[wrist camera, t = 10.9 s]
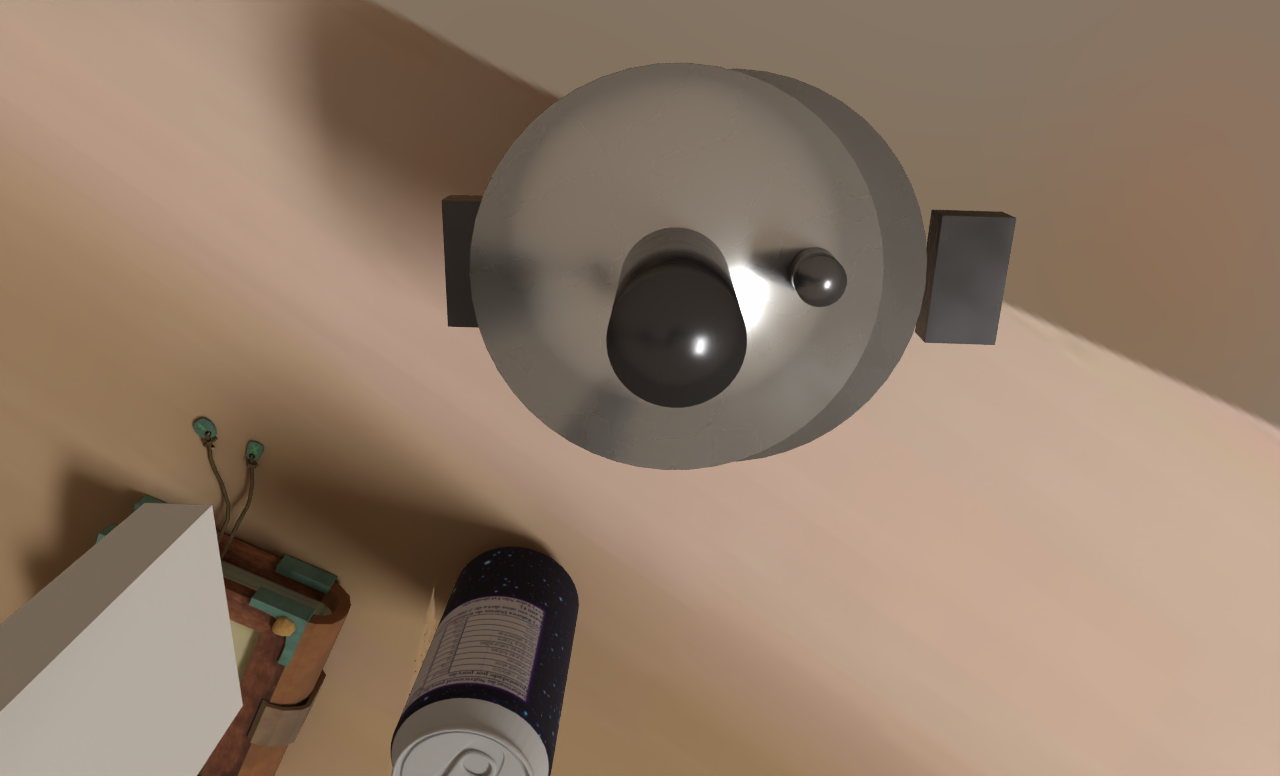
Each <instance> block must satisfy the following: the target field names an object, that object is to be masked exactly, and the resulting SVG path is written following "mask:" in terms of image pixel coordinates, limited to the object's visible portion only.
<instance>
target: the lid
mask: <svg viewBox="0 0 1280 776" xmlns="http://www.w3.org/2000/svg"><path fill="white" fill-rule="evenodd" d="M883 268H884V263H883V247H882V236H881V231H880V227H879V222H878V217H877V212H876V209H875V206H874V203H873V200H872V198H871V195H870V192H869V189H868V186H867V184H866V182H865V180H864V178H863V176H862V174H861V173H860V171H859V169H858V167H857V165H856V163H855V161H854V160H853V158H852V157H851V155H850V154H849V152H848V151H847V150H846V148H845V147H844V145H843V144H842V143H841V141H840V140H839V138H838V137H837V136H836V135H835V134H834V133H833V132H832V131H831V130H830V129H829V128H828V127H827V126H826V124H825V123H824V122H823V121H822V120H821V119H820V118H819V117H818V116H816V115H815V114H814V113H813V112H811V111H810V110H809V109H808V108H806V107H805V106H804V105H803V104H801V103H800V102H799V101H798V100H796V99H795V98H793V97H791V96H790V95H788V94H786V93H785V92H783V91H781V90H780V89H778V88H776V87H775V86H773V85H771V84H769V83H766V82H764V81H761V80H759V79H757V78H754V77H752V76H749V75H747V74H744V73H740V72H737V71H733V70H729V69H725V68H721V67H717V66H709V65H701V64H692V63H665V64H653V65H647V66H641V67H635V68H629V69H626V70H623V71H619V72H616V73H613V74H610V75H607V76H604V77H601V78H599V79H596V80H595V81H592V82H590V83H588V84H586V85H584V86H582V87H580V88H577V89H575V90H574V91H572V92H571V93H569V94H568V95H566V96H565V97H563V98H561V99H560V100H558V101H557V102H555V103H554V104H552V105H551V106H550V107H549V108H547V109H546V110H545V111H544V112H543V113H542V114H540V115H539V116H538V117H537V118H536V119H535V120H534V121H532V122H531V123H530V124H529V125H528V126H527V128H526V129H525V130H524V131H523V132H522V133H521V134H520V136H519V137H518V138H517V139H516V140H515V141H514V142H513V144H512V145H511V146H510V148H509V149H508V151H507V152H506V154H505V155H504V157H503V158H502V160H501V161H500V163H499V164H498V166H497V167H496V169H495V171H494V173H493V175H492V177H491V179H490V182H489V184H488V186H487V188H486V190H485V192H484V194H483V198H482V201H481V204H480V207H479V210H478V213H477V216H476V219H475V225H474V231H473V236H472V242H471V253H470V282H471V293H472V301H473V305H474V310H475V314H476V319H477V323H478V326H479V329H480V332H481V335H482V337H483V340H484V343H485V345H486V348H487V350H488V352H489V354H490V356H491V358H492V360H493V362H494V364H495V366H496V368H497V369H498V371H499V373H500V374H501V376H502V377H503V379H504V380H505V381H506V383H507V384H508V386H509V387H510V389H511V390H512V392H513V393H514V394H515V395H516V396H517V397H518V398H519V399H520V401H521V402H522V403H523V404H524V405H525V406H526V407H527V408H528V409H529V411H531V412H532V413H533V414H534V415H535V416H536V417H537V418H539V419H540V420H541V421H542V422H543V423H544V424H545V425H547V426H548V427H549V428H550V429H552V430H553V431H555V432H556V433H558V434H559V435H561V436H562V437H564V438H565V439H567V440H568V441H570V442H572V443H574V444H576V445H578V446H580V447H582V448H584V449H586V450H588V451H589V452H591V453H594V454H597V455H600V456H602V457H605V458H608V459H610V460H613V461H616V462H621V463H625V464H629V465H633V466H638V467H644V468H653V469H662V470H690V469H698V468H705V467H713V466H718V465H722V464H726V463H730V462H734V461H738V460H741V459H743V458H746V457H748V456H751V455H754V454H756V453H759V452H762V451H764V450H766V449H767V448H769V447H771V446H773V445H775V444H777V443H779V442H781V441H783V440H784V439H786V438H787V437H789V436H790V435H792V434H793V433H795V432H796V431H797V430H799V429H800V428H802V427H803V426H805V425H806V424H807V423H808V422H809V421H810V420H812V419H813V418H814V417H815V416H816V415H817V414H818V413H819V412H821V411H822V410H823V409H824V408H825V407H826V406H827V405H828V403H829V402H830V401H831V400H832V399H833V398H834V397H835V395H836V394H837V393H838V392H839V391H840V390H841V388H842V387H843V386H844V384H845V383H846V381H847V380H848V378H849V377H850V375H851V374H852V372H853V371H854V369H855V368H856V366H857V364H858V362H859V360H860V358H861V356H862V354H863V352H864V350H865V348H866V346H867V344H868V341H869V338H870V336H871V333H872V330H873V327H874V324H875V321H876V318H877V313H878V309H879V304H880V299H881V294H882V283H883Z"/></svg>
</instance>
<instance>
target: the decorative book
mask: <svg viewBox="0 0 1280 776" xmlns="http://www.w3.org/2000/svg"><path fill="white" fill-rule="evenodd" d="M194 430H195V432H196V433H197V434H198V435H199V436H200V437H202V438H203V439H207V441H208V442H206V443H203V446H204V447H207V448H208V453H209V461H210V464H211V466H212V469H213V471H214V474H215V476H216V478H217V479H218V481H219V483H220V486H221V489H222V492H223V495H224V498H225V501H226V504H227V511H226V520H225V522H224V525H223V527H222V529H221V532H218V531H216V533H217V540H218V546H219V553H220V560H221V566H222V573H223V579H224V586H225V592H226V599H227V605H228V612H229V618H230V625H231V631H232V638H233V644H234V651H235V658H236V664H237V671H238V677H239V684H240V690H241V697H242V703H243V706H242V708H241V709H240V711H239V712H238V714H237V715H236V717H235V718H234V720H233V721H232V723H231V724H230V726H229V727H228V729H227V730H226V732H225V734H224V735H223V737H222V738H221V740H220V741H219V743H218V744H217V746H216V747H215V749H214V750H213V752H212V753H211V755H210V756H209V758H208V760H207V761H206V763H205V764H204V766H203V767H202V769H201V770H200V772H199V773H198V775H197V776H274V775H275V773H276V771H277V769H278V766H279V764H280V762H281V760H282V758H283V755H284V753H285V751H286V749H287V746H288V744H290V743H292V742H294V740H295V739H296V737H297V735H298V733H299V731H300V729H301V727H302V725H303V723H304V721H305V719H306V717H307V715H308V713H309V711H310V709H311V707H312V705H313V703H314V701H315V698H316V696H317V694H318V692H319V690H320V687H321V685H322V683H323V681H324V679H325V676H326V674H325V673H324V671H323V667H324V665H325V663H326V660H327V658H328V656H329V654H330V652H331V649H332V647H333V645H334V643H335V641H336V638H337V636H338V634H339V632H340V630H341V627H342V625H343V623H344V621H345V619H346V616H347V614H348V612H349V609H350V606H351V604H350V596H349V595H348V594H347V593H346V591H345V590H344V589H343V588H342V587H341V586H340V585H338V584H337V583H335V580H336V578H337V576H335V575H332V574H330V573H328V572H325V571H323V570H321V569H318V568H316V567H314V566H311V565H309V564H307V563H304V562H302V561H300V560H297V559H295V558H293V557H290V556H288V555H285V556H284V557H283V559H281V558H279V557H277V556H274V555H272V554H270V553H267V552H265V551H263V550H260V549H258V548H256V547H253V546H251V545H249V544H246V543H244V542H242V541H239V540H237V539H235V538H233V537H234V535H235V533H236V531H237V529H238V527H239V525H240V523H241V521H242V519H243V517H244V515H245V514H246V512H247V510H248V508H249V506H250V503H251V500H252V494H253V487H254V468H256V467H257V466H258V465H257V463H254V461H255V460H257V459H258V458H259V457H260V456H261V454H262V453H263V450H264V446H263V445H262V444H261V443H259V442H257V441H251V442H250V443H249V445H248V447H247V462H246V465H247V466H248V467H250V481H251V482H250V489H249V496H248V500H247V504H246V506H245V508H244V510H243V512H242V513H241V515H240V517H239V519H238V521H237V522H236V524H235V526H234V528H233V530H232V532H231V535H230V536H228V535H225V534H223V533H224V531H225V529H226V526H227V524H228V522H229V519H230V502H229V499H228V495H227V492H226V489H225V486H224V483H223V481H222V479H221V477H220V475H219V473H218V471H217V469H216V466H215V464H214V461H213V457H212V450H215V447H214V446H213V445H211V444H212V443H213V442H215V441H216V440H217V439H218V438H217V437H215V436H216V434H217V430H216V427H215V425H214V423H213V422H212V421H211V420H210V419H208V418H201V419H199V420H198V421H196V422H195V424H194ZM208 430H209V431H210V432H208V433H207V431H208ZM211 433H212V434H211ZM210 434H211V435H210ZM213 437H214V438H213ZM212 438H213V439H212ZM211 439H212V440H211ZM250 453H252V454H251V455H250ZM254 456H255V458H254ZM144 503H163V504H167V503H165V502H163V501H160V500H158V499H156V498H153V497H151V496H149V495H145V496H144V497H143V498H142V499H141V500H139V501H138V502H137V503H136V504H135V506H134V509H133V512H134V511H136V510H137V509H138V508H139V507H140V506H142V505H143V504H144ZM133 512H132V513H133ZM117 526H118V525H115V524H113V523H111V524H110V525H109V526H107V527H106V528H105V529H104V530H103V531H101V532H100V533H99V535H98V538H97V541H96V543H98V542H99V541H100V540H101V539H102V538H104V537H105V536H106V535H107V534H108V533H110V532H111V531H112V530H113V529H114V528H115V527H117ZM60 574H61V573H60Z"/></svg>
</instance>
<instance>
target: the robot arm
mask: <svg viewBox="0 0 1280 776" xmlns="http://www.w3.org/2000/svg"><path fill="white" fill-rule="evenodd" d="M242 706H243V703H242V697H241V690H240V684H239V677H238V671H237V664H236V658H235V651H234V644H233V638H232V631H231V625H230V618H229V612H228V605H227V599H226V592H225V586H224V579H223V573H222V566H221V560H220V553H219V546H218V540H217V533H216V527H215V520H214V514H213V507H212V505H194V504H163V503H144V504H143V505H142V506H140V507H139V508H138V509H137V510H136V511H134V512H133V513H132V514H131V515H130V516H129V517H127V518H126V519H125V520H124V521H123V522H121V523H120V524H119V525H118V526H117V527H115V528H114V529H113V530H112V531H111V532H110V533H108V534H107V535H106V536H105V537H104V538H102V539H101V540H100V541H99V542H98V543H96V544H95V545H94V546H93V547H92V548H91V549H89V550H88V551H87V552H86V553H85V554H83V555H82V556H81V557H80V558H79V559H77V560H76V561H75V562H74V563H73V564H72V565H70V566H69V567H68V568H67V569H66V570H64V571H63V572H62V573H61V574H60V575H59V576H57V577H56V578H55V579H54V580H53V581H51V582H50V583H49V584H48V585H47V586H45V587H44V588H43V589H42V590H41V591H40V592H38V593H37V594H36V595H35V596H34V597H32V598H31V599H30V600H29V601H28V602H26V603H25V604H24V605H23V606H22V607H21V608H19V609H18V610H17V611H16V612H15V613H13V614H12V615H11V616H10V617H9V618H8V619H6V620H5V621H4V622H3V623H2V624H0V776H197V775H198V773H199V772H200V770H201V769H202V767H203V766H204V764H205V763H206V761H207V760H208V758H209V756H210V755H211V753H212V752H213V750H214V749H215V747H216V746H217V744H218V743H219V741H220V740H221V738H222V737H223V735H224V734H225V732H226V730H227V729H228V727H229V726H230V724H231V723H232V721H233V720H234V718H235V717H236V715H237V714H238V712H239V711H240V709H241V708H242Z"/></svg>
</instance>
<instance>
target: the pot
mask: <svg viewBox="0 0 1280 776" xmlns="http://www.w3.org/2000/svg"><path fill="white" fill-rule="evenodd" d="M729 70H733V71H737V72H740V73H744V74H747V75H749V76H752V77H754V78H757V79H759V80H761V81H764V82H766V83H769V84H771V85H773V86H775V87H776V88H778V89H780V90H781V91H783V92H785V93H786V94H788V95H790V96H791V97H793V98H795V99H796V100H798V101H799V102H800V103H801V104H803V105H804V106H805V107H806V108H808V109H809V110H810V111H811V112H813V113H814V114H815V115H816V116H818V117H819V118H820V119H821V120H822V121H823V122H824V123H825V124H826V126H827V127H828V128H829V129H830V130H831V131H832V132H833V133H834V134H835V135H836V136H837V137H838V138H839V140H840V141H841V143H842V144H843V145H844V147H845V148H846V150H847V151H848V152H849V154H850V155H851V157H852V158H853V160H854V161H855V163H856V165H857V167H858V169H859V171H860V173H861V174H862V176H863V178H864V180H865V182H866V184H867V186H868V189H869V192H870V195H871V198H872V200H873V203H874V206H875V209H876V212H877V217H878V222H879V227H880V231H881V236H882V247H883V263H884V268H883V283H882V294H881V299H880V304H879V309H878V313H877V318H876V321H875V324H874V327H873V330H872V333H871V336H870V338H869V341H868V344H867V346H866V348H865V350H864V352H863V354H862V356H861V358H860V360H859V362H858V364H857V366H856V368H855V369H854V371H853V372H852V374H851V375H850V377H849V378H848V380H847V381H846V383H845V384H844V386H843V387H842V388H841V390H840V391H839V392H838V393H837V394H836V395H835V397H834V398H833V399H832V400H831V401H830V402H829V403H828V405H827V406H826V407H825V408H824V409H823V410H822V411H821V412H819V413H818V414H817V415H816V416H815V417H814V418H813V419H812V420H810V421H809V422H808V423H807V424H806V425H805V426H803V427H802V428H800V429H799V430H797V431H796V432H795V433H793V434H792V435H790V436H789V437H787V438H786V439H784V440H783V441H781V442H779V443H777V444H775V445H773V446H771V447H769V448H767V449H766V450H764V451H762V452H759V453H756V454H754V455H751V456H748V457H746V458H743V459H741V460H738V461H744V460H751V459H758V458H764V457H768V456H771V455H775V454H779V453H783V452H786V451H789V450H791V449H794V448H796V447H799V446H802V445H804V444H807V443H809V442H811V441H813V440H815V439H816V438H818V437H820V436H822V435H824V434H826V433H827V432H829V431H831V430H833V429H834V428H835V427H837V426H838V425H840V424H841V423H842V422H844V421H845V420H847V419H848V418H849V417H851V416H852V415H853V414H854V413H855V412H856V411H858V410H859V409H860V408H861V407H862V406H863V405H864V404H865V403H866V402H867V401H869V400H870V399H871V397H872V396H873V395H874V394H875V393H876V392H877V390H878V389H879V388H880V387H881V386H882V385H883V383H884V382H885V381H886V380H887V378H888V377H889V375H890V374H891V372H892V371H893V369H894V368H895V366H896V365H897V363H898V362H899V360H900V359H901V357H902V355H903V353H904V351H905V349H906V347H907V345H908V343H909V341H910V339H911V337H912V334H913V331H914V328H915V325H916V328H915V332H916V334H917V335H918V336H919V337H920V338H921V339H922V340H923V341H924V342H925V343H954V344H983V345H995V341H996V335H997V329H998V323H999V317H1000V311H1001V305H1002V299H1003V293H1004V287H1005V281H1006V275H1007V270H1008V264H1009V258H1010V252H1011V245H1012V240H1013V234H1014V228H1015V222H1016V218H1015V217H1013V216H1011V215H1008V214H1006V213H1004V212H991V211H959V210H932V212H931V219H930V226H929V233H928V241H927V248H926V237H925V231H924V226H923V221H922V216H921V211H920V207H919V205H918V202H917V199H916V196H915V193H914V190H913V188H912V185H911V183H910V181H909V179H908V177H907V175H906V173H905V171H904V169H903V167H902V166H901V164H900V162H899V160H898V159H897V157H896V156H895V154H894V153H893V152H892V150H891V149H890V147H889V146H888V145H887V143H886V142H885V140H884V139H883V138H882V137H881V136H880V135H879V134H878V133H877V132H876V131H875V130H874V129H873V127H872V126H870V124H869V123H868V122H867V121H866V120H865V119H864V118H862V117H861V116H860V115H859V114H857V113H856V112H855V111H853V110H852V109H851V108H850V107H848V106H847V105H846V104H844V103H843V102H842V101H840V100H838V99H836V98H835V97H832V96H831V95H829V94H828V93H826V92H824V91H822V90H821V89H819V88H816V87H814V86H811V85H809V84H806V83H804V82H801V81H799V80H796V79H794V78H790V77H786V76H782V75H778V74H773V73H770V72H765V71H755V70H745V69H744V70H743V69H729ZM482 198H483V196H471V195H450V196H448V197H446V198H445V199H443V200H442V214H443V234H444V254H445V275H446V295H447V315H448V326H451V327H479V326H478V323H477V319H476V314H475V310H474V305H473V301H472V293H471V282H470V253H471V242H472V236H473V231H474V225H475V219H476V216H477V213H478V210H479V207H480V204H481V201H482Z"/></svg>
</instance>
